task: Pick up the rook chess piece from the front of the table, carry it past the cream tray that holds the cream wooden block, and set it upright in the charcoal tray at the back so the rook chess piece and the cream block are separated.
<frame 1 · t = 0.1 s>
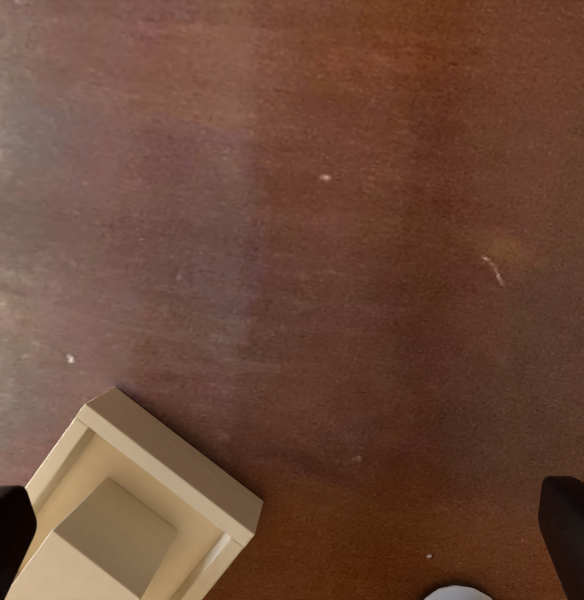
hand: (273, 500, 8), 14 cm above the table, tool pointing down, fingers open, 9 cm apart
cream tray: (125, 526, 23), on the table
cream block: (118, 536, 22), point 1 cm above the table, touching cream tray
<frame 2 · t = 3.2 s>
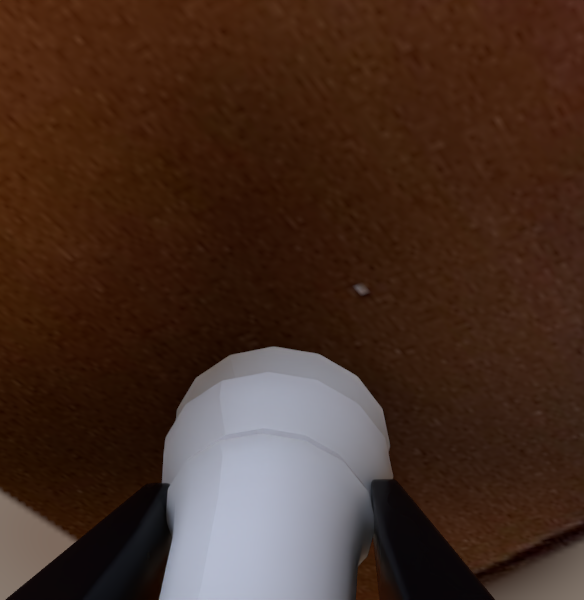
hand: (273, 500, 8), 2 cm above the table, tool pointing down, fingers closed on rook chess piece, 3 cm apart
rook chess piece: (282, 425, 10), on the table, touching gripper
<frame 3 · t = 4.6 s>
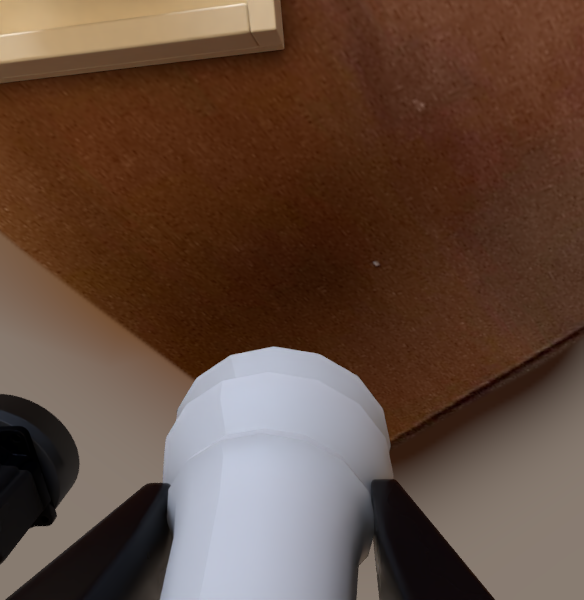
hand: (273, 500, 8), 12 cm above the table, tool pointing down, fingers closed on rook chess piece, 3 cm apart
rook chess piece: (283, 425, 10), point 9 cm above the table, touching gripper
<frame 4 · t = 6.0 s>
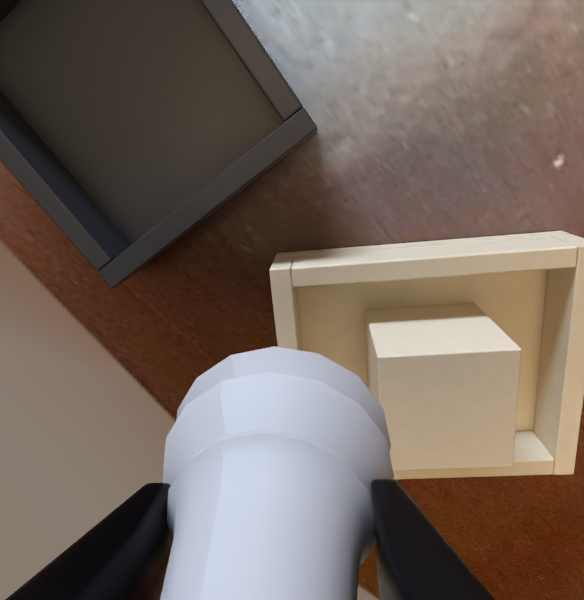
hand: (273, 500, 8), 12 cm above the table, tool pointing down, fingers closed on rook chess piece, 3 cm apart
rook chess piece: (283, 425, 10), point 10 cm above the table, touching gripper
cream tray: (415, 347, 20), on the table
cream block: (419, 355, 19), point 1 cm above the table, touching cream tray
charcoal tray: (138, 93, 17), on the table
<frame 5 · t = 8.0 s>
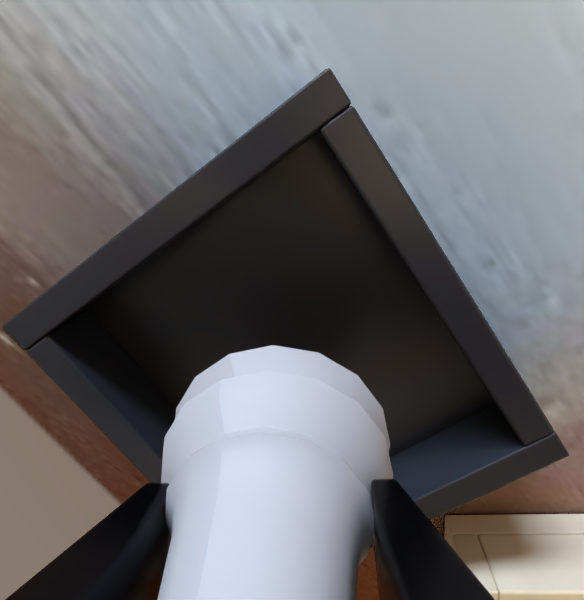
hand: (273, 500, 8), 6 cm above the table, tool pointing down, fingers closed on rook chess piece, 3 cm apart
rook chess piece: (282, 424, 10), point 4 cm above the table, touching gripper
charcoal tray: (294, 343, 13), on the table
when the fingers open (3 cm above the table, at t = 9.2 s): rook chess piece stays where it is, resting on charcoal tray.
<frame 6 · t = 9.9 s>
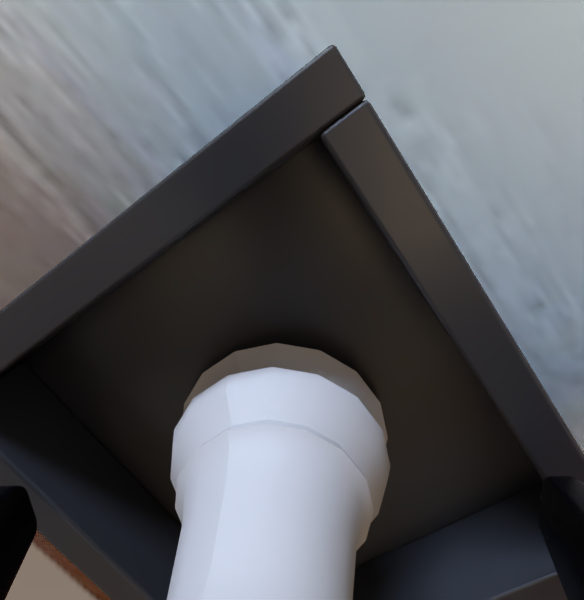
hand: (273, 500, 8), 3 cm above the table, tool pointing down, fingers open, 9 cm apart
rook chess piece: (285, 419, 10), point 1 cm above the table, touching charcoal tray
charcoal tray: (287, 401, 11), on the table
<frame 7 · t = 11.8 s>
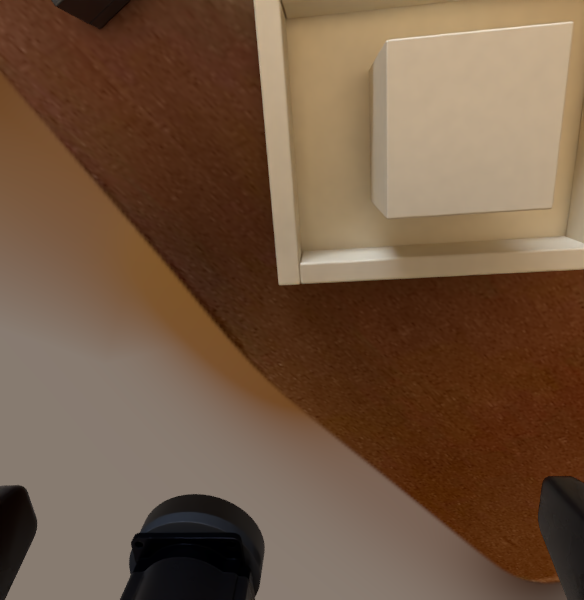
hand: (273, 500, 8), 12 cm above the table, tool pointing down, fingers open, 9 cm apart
cream tray: (428, 134, 16), on the table
cream block: (433, 133, 16), point 1 cm above the table, touching cream tray
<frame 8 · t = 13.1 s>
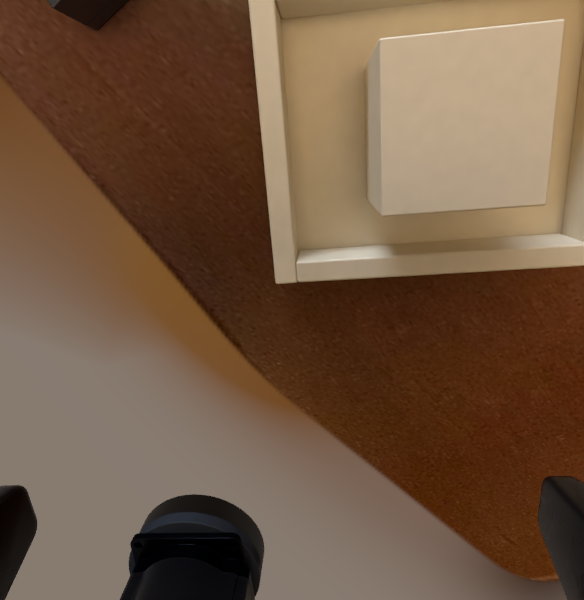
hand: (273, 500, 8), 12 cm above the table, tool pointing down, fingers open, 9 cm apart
cream tray: (423, 132, 17), on the table
cream block: (428, 132, 16), point 1 cm above the table, touching cream tray
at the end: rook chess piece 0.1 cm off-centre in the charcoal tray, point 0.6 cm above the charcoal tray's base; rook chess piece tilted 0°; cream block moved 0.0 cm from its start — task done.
